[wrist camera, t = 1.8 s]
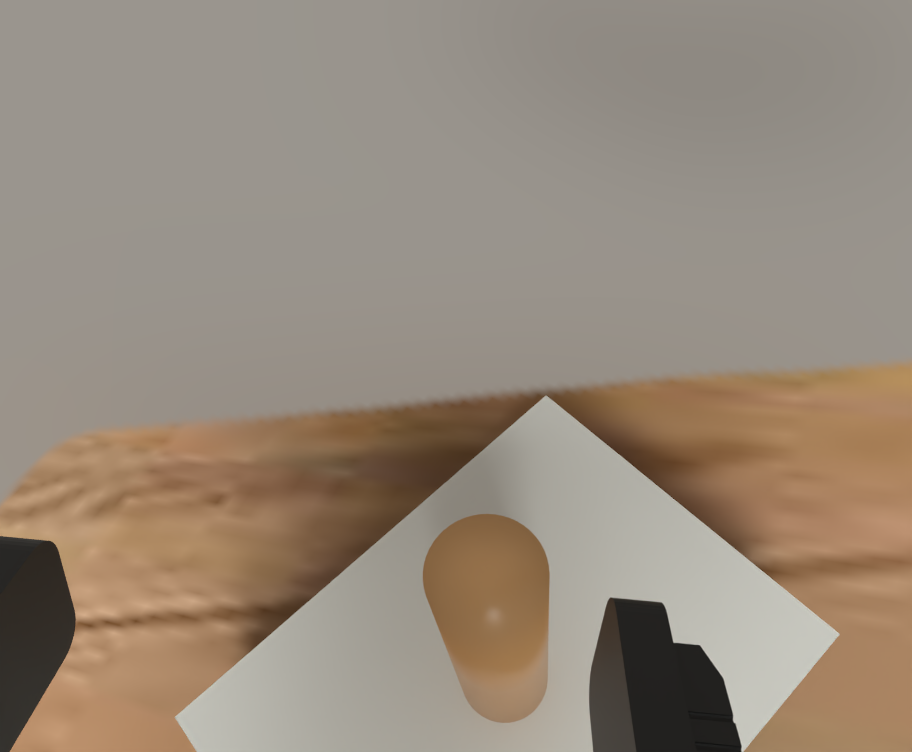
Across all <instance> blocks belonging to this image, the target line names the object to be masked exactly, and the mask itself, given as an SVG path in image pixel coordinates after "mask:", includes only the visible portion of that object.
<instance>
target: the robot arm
mask: <svg viewBox="0 0 912 752" xmlns="http://www.w3.org/2000/svg"><path fill="white" fill-rule="evenodd" d="M75 620H76V619H75V611H74V607H73V603H72V599H71V596H70V592H69V588H68V585H67V581H66V577H65V574H64V570H63V566H62V563H61V559H60V555H59V552H58V549H57V547H56V545H55V544H54V543H53V542H51V541H44V540H34V539H23V538H13V537H3V536H0V752H10V750H11V748H12V747H13V745H14V743H15V741H16V740H17V738H18V736H19V735H20V733H21V731H22V730H23V728H24V726H25V725H26V723H27V721H28V720H29V718H30V716H31V715H32V713H33V711H34V709H35V708H36V706H37V704H38V703H39V701H40V699H41V698H42V696H43V694H44V693H45V691H46V689H47V688H48V686H49V684H50V683H51V681H52V679H53V678H54V676H55V674H56V672H57V671H58V669H59V667H60V666H61V664H62V662H63V661H64V659H65V657H66V655H67V653H68V651H69V649H70V646H71V643H72V640H73V636H74V631H75ZM589 711H590V722H591V733H592V744H593V752H741V747H742V745H741V742H740V738H739V734H738V730H737V727H736V723H734V722H733V712H732V708H731V705H730V701H729V697H728V693H727V690H726V686H725V682H724V679H723V677H722V676H721V674H720V673H719V671H718V670H717V669H716V667H715V666H714V664H713V663H712V662H711V660H710V659H709V657H708V656H707V654H706V653H705V652H704V650H703V649H702V647H701V646H700V645H693V644H683V643H673V638H672V634H671V629H670V624H669V620H668V615H667V611H666V608H665V606H664V604H663V603H662V602H653V601H643V600H632V599H622V598H612V597H610V598H609V600H608V602H607V605H606V608H605V612H604V617H603V621H602V625H601V629H600V633H599V637H598V641H597V645H596V649H595V653H594V658H593V662H592V666H591V672H590V683H589Z"/></svg>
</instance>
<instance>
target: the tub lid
mask: <svg viewBox="0 0 912 752" xmlns="http://www.w3.org/2000/svg"><path fill="white" fill-rule="evenodd" d="M610 597H612V598H622V599H632V600H643V601H653V602H662V603H663V604H664V606H665V608H666V611H667V615H668V620H669V624H670V629H671V634H672V638H673V643H683V644H693V645H700V646H701V647H702V649H703V650H704V652H705V653H706V654H707V656H708V657H709V659H710V660H711V662H712V663H713V664H714V666H715V667H716V669H717V670H718V671H719V673H720V674H721V676H722V677H723V679H724V682H725V686H726V690H727V693H728V697H729V701H730V705H731V708H732V712H733V722H734V723H736V727H737V730H738V734H739V738H740V742H741V745H742V747H741V752H743V751H744V750H745V749H746V748H747V746H748V745H749V744H750V743H751V742H752V740H753V739H754V738H755V737H756V736H757V734H758V733H759V732H760V731H761V729H762V728H763V727H764V726H765V725H766V723H767V722H768V721H769V720H770V718H771V717H772V716H773V715H774V714H775V712H776V711H777V710H778V709H779V708H780V706H781V705H782V704H783V703H784V701H785V700H786V699H787V698H788V697H789V695H790V694H791V693H792V692H793V690H794V689H795V688H796V687H797V686H798V684H799V683H800V682H801V681H802V680H803V678H804V677H805V676H806V675H807V673H808V672H809V671H810V670H811V669H812V667H813V666H814V665H815V664H816V662H817V661H818V660H819V659H820V658H821V656H822V655H823V654H824V653H825V652H826V650H827V649H828V648H829V647H830V645H831V644H832V643H833V642H834V641H835V639H836V638H837V637H838V636H839V633H838V632H837V631H835V630H834V629H833V628H832V627H830V626H829V625H828V624H827V623H826V622H824V621H823V620H822V619H821V618H819V617H818V616H817V615H816V614H814V613H813V612H812V611H811V610H810V609H808V608H807V607H806V606H805V605H803V604H802V603H801V602H800V601H798V600H797V599H796V598H795V597H794V596H792V595H791V594H790V593H789V592H787V591H786V590H785V589H784V588H782V587H781V586H780V585H779V584H778V583H776V582H775V581H774V580H773V579H771V578H770V577H769V576H768V575H766V574H765V573H764V572H763V571H762V570H760V569H759V568H758V567H757V566H755V565H754V564H753V563H752V562H751V561H749V560H748V559H747V558H746V557H744V556H743V555H742V554H741V553H739V552H738V551H737V550H736V549H735V548H733V547H732V546H731V545H730V544H728V543H727V542H726V541H725V540H723V539H722V538H721V537H720V536H719V535H717V534H716V533H715V532H714V531H712V530H711V529H710V528H709V527H707V526H706V525H705V524H704V523H703V522H701V521H700V520H699V519H698V518H696V517H695V516H694V515H693V514H691V513H690V512H689V511H688V510H687V509H685V508H684V507H683V506H682V505H680V504H679V503H678V502H677V501H676V500H674V499H673V498H672V497H671V496H669V495H668V494H667V493H666V492H664V491H663V490H662V489H661V488H660V487H658V486H657V485H656V484H655V483H653V482H652V481H651V480H650V479H648V478H647V477H646V476H645V475H644V474H642V473H641V472H640V471H639V470H637V469H636V468H635V467H634V466H632V465H631V464H630V463H629V462H628V461H626V460H625V459H624V458H623V457H621V456H620V455H619V454H618V453H617V452H615V451H614V450H613V449H612V448H610V447H609V446H608V445H607V444H605V443H604V442H603V441H602V440H601V439H599V438H598V437H597V436H596V435H594V434H593V433H592V432H591V431H589V430H588V429H587V428H586V427H585V426H583V425H582V424H581V423H580V422H578V421H577V420H576V419H575V418H573V417H572V416H571V415H570V414H569V413H567V412H566V411H565V410H564V409H562V408H561V407H560V406H559V405H557V404H556V403H555V402H554V401H553V400H551V399H550V398H549V397H548V396H545V397H543V398H542V399H541V400H540V401H539V402H538V403H537V404H535V405H534V406H533V407H532V408H531V409H530V410H528V411H527V412H526V413H525V414H524V415H523V416H522V417H520V418H519V419H518V420H517V421H516V422H515V423H514V424H512V425H511V426H510V427H509V428H508V429H507V430H505V431H504V432H503V433H502V434H501V435H500V436H499V437H497V438H496V439H495V440H494V441H493V442H492V443H490V444H489V445H488V446H487V447H486V448H485V449H484V450H482V451H481V452H480V453H479V454H478V455H477V456H475V457H474V458H473V459H472V460H471V461H470V462H469V463H467V464H466V465H465V466H464V467H463V468H462V469H460V470H459V471H458V472H457V473H456V474H455V475H454V476H452V477H451V478H450V479H449V480H448V481H447V482H445V483H444V484H443V485H442V486H441V487H440V488H439V489H437V490H436V491H435V492H434V493H433V494H432V495H430V496H429V497H428V498H427V499H426V500H425V501H424V502H422V503H421V504H420V505H419V506H418V507H417V508H415V509H414V510H413V511H412V512H411V513H410V514H409V515H407V516H406V517H405V518H404V519H403V520H402V521H400V522H399V523H398V524H397V525H396V526H395V527H394V528H392V529H391V530H390V531H389V532H388V533H387V534H385V535H384V536H383V537H382V538H381V539H380V540H379V541H377V542H376V543H375V544H374V545H373V546H372V547H370V548H369V549H368V550H367V551H366V552H365V553H364V554H362V555H361V556H360V557H359V558H358V559H357V560H355V561H354V562H353V563H352V564H351V565H350V566H349V567H347V568H346V569H345V570H344V571H343V572H342V573H340V574H339V575H338V576H337V577H336V578H335V579H334V580H332V581H331V582H330V583H329V584H328V585H327V586H326V587H324V588H323V589H322V590H321V591H320V592H319V593H317V594H316V595H315V596H314V597H313V598H312V599H311V600H309V601H308V602H307V603H306V604H305V605H304V606H302V607H301V608H300V609H299V610H298V611H297V612H296V613H294V614H293V615H292V616H291V617H290V618H289V619H287V620H286V621H285V622H284V623H283V624H282V625H281V626H279V627H278V628H277V629H276V630H275V631H274V632H272V633H271V634H270V635H269V636H268V637H267V638H266V639H264V640H263V641H262V642H261V643H260V644H259V645H257V646H256V647H255V648H254V649H253V650H252V651H251V652H249V653H248V654H247V655H246V656H245V657H244V658H242V659H241V660H240V661H239V662H238V663H237V664H236V665H234V666H233V667H232V668H231V669H230V670H229V671H227V672H226V673H225V674H224V675H223V676H222V677H221V678H219V679H218V680H217V681H216V682H215V683H214V684H212V685H211V686H210V687H209V688H208V689H207V690H206V691H204V692H203V693H202V694H201V695H200V696H199V697H197V698H196V699H195V700H194V701H193V702H192V703H191V704H189V705H188V706H187V707H186V708H185V709H184V710H182V711H181V712H180V713H179V714H178V715H177V716H176V717H175V718H176V720H177V721H178V723H179V725H180V726H181V728H182V729H183V731H184V732H185V734H186V735H187V737H188V739H189V740H190V742H191V743H192V745H193V746H194V748H195V749H196V751H197V752H593V744H592V733H591V722H590V711H589V683H590V672H591V666H592V662H593V658H594V653H595V649H596V645H597V641H598V637H599V633H600V629H601V625H602V621H603V617H604V612H605V608H606V605H607V602H608V600H609V598H610Z"/></svg>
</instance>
